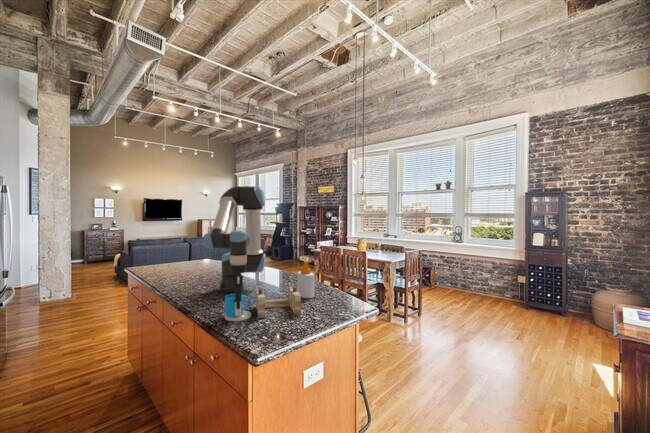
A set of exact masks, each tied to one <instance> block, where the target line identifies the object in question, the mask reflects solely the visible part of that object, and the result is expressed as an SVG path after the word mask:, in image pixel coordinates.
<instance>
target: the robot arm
mask: <svg viewBox="0 0 650 433" xmlns="http://www.w3.org/2000/svg"><path fill="white" fill-rule="evenodd" d="M265 198H266V197H265V191H264V189H263V187H260V186H248V185H247V186H239V185H237V186H232V187H230V188H229V189H227V190H226V191H225V192H224V193H223V194H222V195H221V196H220V199H219V202H218V203H219V207H218V210H217V213H216V215H215V218H214V219H215V220H214V222H213V225H212V227H211V230H210V232H208V233H207V232H206V233H204V235H203V239H202V244H203V247H204V248H205V249H210V250H211V249H215V250H216V249H229V252H226V253H224V254H222V256H221V279H220V282H219V284H218V291H219V292H221V293H236V298H235V300H234V302H235V316H240V315H241V294H243V292H242V291H243V290H244V289H245V284H244V282H243V279H244V278H243V275H242V274H243V273H244V274H245V273H253V274H254V273H262V272H263V271H264V270H265V264H266V257H267V256H266V253H264V250H263V249H262V248H261V247H262V246H261V242H262V241H261V211H262V210H263V207H265V206H266V199H265ZM237 206H239V207H240V206H241V207H242V210H243V211H244V212H245V230H232V231H230V233H229V232H228V229H229V225H230V222H231V219H232V215H233V211H234V210H235V209H236V207H237ZM237 298H240V299H237Z"/></svg>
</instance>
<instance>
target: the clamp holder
mask: <svg viewBox="0 0 650 433" xmlns="http://www.w3.org/2000/svg"><path fill="white" fill-rule="evenodd" d="M255 292H256V295H255V296H256V297H255V300H256V302H255V303H256V304H255V306H256V313H257V317H258V319H264V318H266V308H267V309H268V308H280V307H290V308H291V310H292V312H293V314H294V315H301V314H302V312H301V311H302V297H301V295H300V293H299V292H298V291H297V286H289V287H288V298H279V299H266V297H265V294H264V290H263V288H258V289H256V290H255Z"/></svg>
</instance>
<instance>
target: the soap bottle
mask: <svg viewBox="0 0 650 433" xmlns="http://www.w3.org/2000/svg"><path fill="white" fill-rule="evenodd" d="M309 263H312V260H304V261H303V267H302V268H301V269H300V271H297V279H296V280H297V286H296V287H297V291H298V292H299V293H300V295H301V298H303V299H313V298H314V297H315V274H314V272H311V271H312V270H311V268H310V267H309Z"/></svg>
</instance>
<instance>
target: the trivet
mask: <svg viewBox="0 0 650 433" xmlns="http://www.w3.org/2000/svg"><path fill="white" fill-rule="evenodd" d="M251 317H252V312H251V311H249V310H245V309H244V310H243V313H242V314H241V315H240V316H227V315H225V314H224V320H226V321H228V322H242V321H245V320H248V319H250V318H251Z"/></svg>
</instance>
